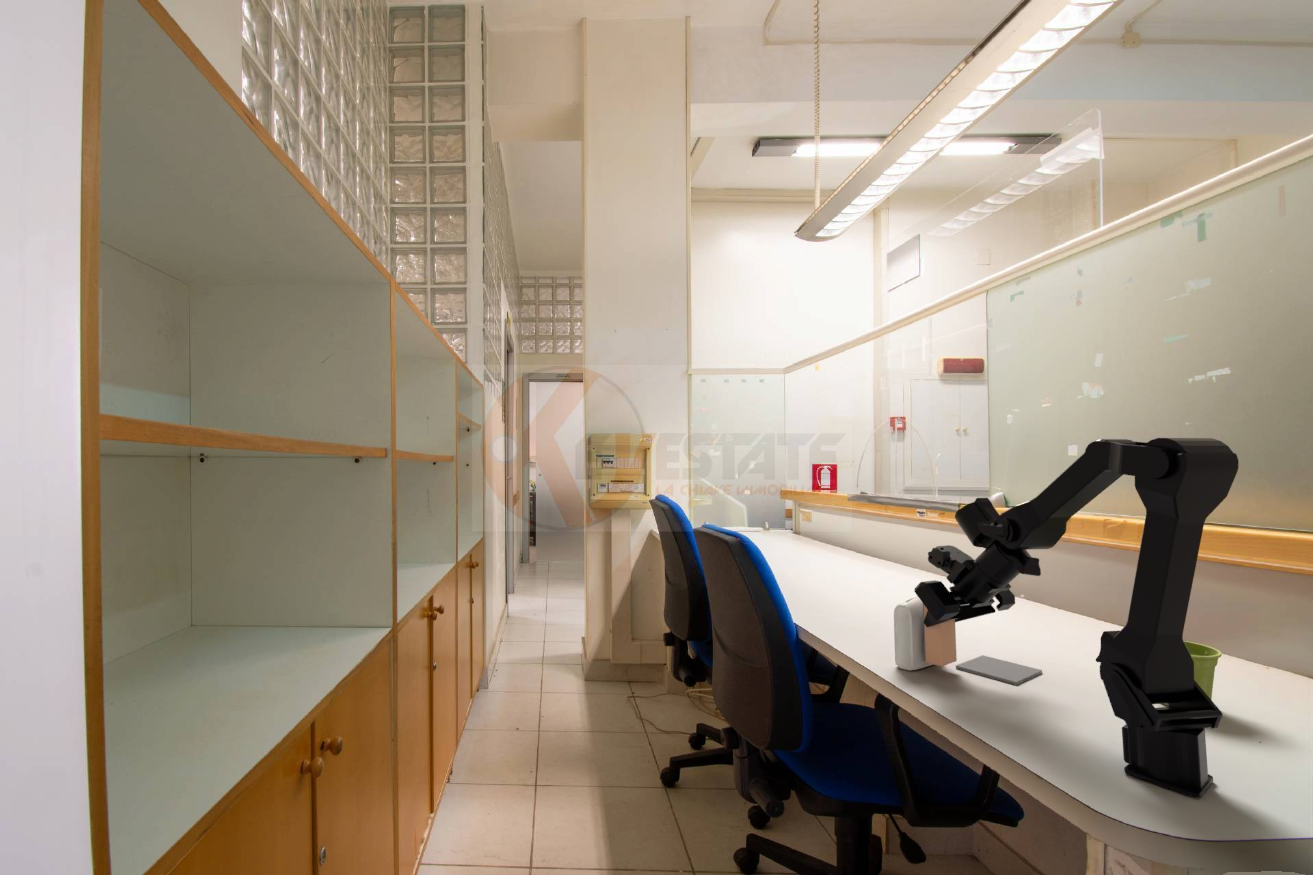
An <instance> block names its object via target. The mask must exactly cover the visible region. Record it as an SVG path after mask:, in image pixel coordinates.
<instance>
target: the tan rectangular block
mask: <svg viewBox="0 0 1313 875" xmlns="http://www.w3.org/2000/svg"><path fill="white" fill-rule="evenodd" d="M927 611H928V609H927V608H926V607H925V605H924V604H923V623H924V619H925V616H926V614H927ZM956 638H957V635H956V622H955V620H951V621H948V622H945V623H941V624H938V625H935V626H931V627H926V625H925V624H924V652H925V662H927V663H931V664H933V665H935V666H939V667H944V666H947V665H950V664H952V663H955V662H957V660H958V659H957V640H956Z"/></svg>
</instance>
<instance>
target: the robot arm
mask: <svg viewBox="0 0 1313 875" xmlns="http://www.w3.org/2000/svg"><path fill="white" fill-rule="evenodd" d="M1238 471H1239V458H1238V454H1236V453H1235V452H1234V451H1233V450H1232V449H1231V448H1230V447H1229V445H1227V443H1224V442H1223V441H1221V440H1219V439H1216V438H1212V437H1210V438H1209V437H1208V438H1207V437H1203V438H1202V437H1192V438H1191V437H1189V438H1188V437H1156V438H1153V439H1150V440H1149V441H1147V442H1146V441H1145V442H1143V441H1133V440H1131V439H1126V438H1101V439H1099V438H1098V439H1096V440H1095V441H1092V442H1090V443H1088V445H1086V447H1085V450H1084V453H1083V454H1082V455H1080V456H1079V457H1078V458H1077V459H1076V460H1075V461H1073V463H1072V464H1070V465H1069V466H1068V467H1067V468H1066V469H1064V471H1063V472H1061V473H1060V474H1059V475H1058V476H1057V477H1056V478H1055V479H1054V480H1053V481H1051V483H1050V484H1049V485H1048V486H1046V488H1044V489H1043V490H1042V491H1041V492H1040V493H1039V494H1038V495H1036V497H1033V498H1032V499H1030V500H1027V501H1024V502H1022V503H1019V504H1016V505H1014V506H1012V507H1010V508H1008V509H1007V510H1005V511H1003V512H1002V513H1001V514H1000V513H999V512H998V511H997V509H996V508H995V507H994V505H993V503H992V502H991V500H990V499H989V498H988V497H976V498H975V500H974V501H973V502H970V503H967V504H966V505H964V506H962V507H961V508H959V509H958V510H957V511H956V512H955V515H954V519H955V521H956V523H957V524H958V526H960V528H961V530H962V532H963V533H964V534H965V535H966V537H967V539H968V540H969V542H970V543H971V545H972V546H974V547H976V548H983V549H984V550H983V551H982V552H981V553H980V554H979V555H978V556H977V557H976V558H975V559H974V558H973V557H971V556H970V555H968V554H967V553H966V552H964V551H962V550H961V549H959V548H957V547H956V546H954V545H937V546H935V547H932V550H931V551H929V552H927V556H928V557H927V561H928V562H929V564H931V565H932V566H934V567H936V568H937V569H939V570H941V571H943V572H944V573H945V574H947V576H946V580H947V581H948V582H949V583H950V584H952V585H953V586H949V588H947V587H946V585H945V584H944V583H943V582H942V581H940V580H936V579H935V580H925V581H920V582H919V583H918V584H917V586H915V587H914V589H913V590H914V593H915V594H916V596H918V597H919V599H920V600H921V601H922V603H923V604H924V605H925V607H926V608H927V609H928V611H927V614H926V616H925V619H924V624H925V625H926V627H931V626H935V625H938V624H941V623H945V622H948V621H951V620H955V623H958V622H962V621H966V620H970V619H974V618H978V617H982V616H985V615H990V614H994V613H996V609H997V611H999V612H1002V611H1007V610H1010V609H1011V608H1012V607H1013V606H1014V605H1016V595H1014V592H1012V591H1011V590H1010V589H1011V588H1012V585H1011V584H1010V583H1011V582H1012V581H1013V580H1014V579H1015V578H1016V577H1018V576H1019V575H1020V574H1021V575H1027V576H1034V577H1040V576H1041V575H1042V572H1041V566H1040V558H1038V557H1033V556H1031V554H1030V553H1029V551H1028V550H1049V549H1052V548H1053V547H1055V546H1056V545H1057V543H1058V542H1059V541H1060V540H1061V538H1062V537H1063V536H1064V535H1065V533H1066V532H1067V524H1068V521H1069V520H1070V519H1071V518H1072V517H1073V516H1074V515H1076V514H1077V513H1078V512H1079V511H1080V510H1082V509H1083V508H1084V507H1085V506H1086V505H1087V506H1088V504H1089V503H1091V501H1093V500H1094V499H1096V498H1097V496H1098V495H1100V494H1102V492H1103V493H1104V491H1105V490H1106V489H1107V488H1109V487H1110V486H1112V484H1114V483H1115V482H1116V481H1117V480H1118V479H1120V478H1121V477H1122V476H1123V475H1125V476H1131V477H1134V487H1135V490H1136V493H1137V495H1138V497H1139V499H1140V500H1141V502H1142V504H1143V506H1144V508H1145V519H1144V524H1143V531H1142V537H1141V542H1140V546H1139V552H1138V559H1137V565H1136V570H1135V574H1134V575H1135V576H1134V581H1133V587H1132V592H1131V593H1132V594H1131V598H1130V605H1129V610H1128V615H1127V621H1126V624H1125V625H1124V627H1123V628H1121V630H1107V631H1106V630H1105V631H1102V634H1101V635H1100V650H1099V653H1098V656H1097V657H1096V658H1095V662H1096V663H1100V664H1099V676H1100V677H1099V678H1100V679H1101V681H1102V682H1103V685H1104V686H1103V687H1104V689H1105V691H1106V694H1107V697H1108V700H1109V703H1110V706H1111V708H1112V711H1113V715H1114V716H1115V717H1116V718H1118V719H1121V720H1123V721H1124V722H1125V724H1124V725H1123V726H1122V727H1121V734H1122V736H1121V737H1122V752H1123V753H1122V754H1123V761H1124V762H1125V764H1127V765H1126V766H1124V767H1123V769H1124V770H1123V771H1124V773H1125V774H1127V775H1129V776H1133V777H1135V778H1137V779H1138V778H1139V779H1140V780H1144V781H1146V782H1149V783H1153V784H1154V785H1158V786H1161V787H1164V788H1166V789H1170V790H1172V791H1173V790H1174V791H1175V792H1178V793H1181V794H1184V795H1187V796H1190V797H1194V798H1198V799H1200V798H1201V797H1202V796H1203V795H1204V794H1205V792H1206V791H1207V790H1208V788H1209V787H1210V786H1211V785H1212V784H1213V783H1214V777H1213V775H1212V774H1209V771H1208V770H1209V769H1208V757H1207V742H1206V741H1207V740H1206V729H1217V728H1218V727H1219V725H1220V722H1221V719H1222V717H1223V712H1222V711H1221V709H1220V708H1219V707H1218V706H1217V705H1216V704H1215V703H1214V702H1213V700H1212V699H1210V698H1209V697H1208V696H1207V694H1206V693H1205V692H1204V691H1203V690H1202V688H1201V687H1200V686H1199V685H1198V684H1197V683H1196V681H1195V680H1194V661H1193V659H1192V657H1191V655H1190V653H1189V651H1188V649H1187V647H1186V645H1185V643H1184V641H1185V640H1184V639H1183V638H1184V636H1183V635H1184V630H1185V624H1186V618H1187V614H1188V609H1189V605H1190V604H1189V602H1190V598H1191V593H1192V592H1191V591H1192V588H1193V582H1194V577H1195V572H1196V568H1197V562H1198V557H1199V551H1200V547H1201V546H1200V545H1201V541H1202V536H1203V531H1204V527H1205V521H1206V520H1207V518H1208V517H1209V516H1210V515H1211V514H1212V513H1213V512H1214V511H1215V510H1216V509H1217V508H1218V507H1219V506H1220V505H1221V503H1222V502H1223V501H1224V500H1225V499H1226V498H1227V497H1228V495H1229V492H1230V490H1231V488H1232V485H1233V483H1234V480H1235V478H1236V477H1237V474H1238ZM948 589H949V590H948ZM994 598H995V599H996V600H997V601H998V604H996V607H995V608H994V606H993V604H994V603H995V602H996V601H995V599H994ZM1164 703H1168V704H1169V706H1162V707H1161V706H1159V707H1155V706H1154V705H1164Z"/></svg>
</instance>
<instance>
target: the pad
mask: <svg viewBox="0 0 1313 875" xmlns="http://www.w3.org/2000/svg"><path fill="white" fill-rule="evenodd" d="M955 669H957V670H961V671H964V672H967V673H972V674H974V675H978V676H981V677H986V678H989V679H993V680H996V681H1000V682H1004V683H1008V684H1011V685H1014V686H1017V685H1020V684H1023V683H1024V682H1026V681H1028V680H1031V679H1033V678H1035V677H1037V676H1039V675H1041V674H1042V673H1043V670H1042V669H1039V668H1035V667H1030V666H1027V665H1023V664H1018V663H1017V662H1015V663H1014V662H1012V661H1007V660H1003V659H1000V658H999V659H998V658H995V657H991V656H987V655H980V656H977V657H974V658H972V659H969V660H967V661H964V662H962V663H959V664H957V665H955Z"/></svg>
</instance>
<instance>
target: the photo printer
mask: <svg viewBox="0 0 1313 875" xmlns="http://www.w3.org/2000/svg"><path fill="white" fill-rule="evenodd" d="M893 632H894V633H893V634H894V661H895V662H894V663H895V665H896V666H897V667H898V668H900V669H902V670H905V671H916V670H920V669H923V668H926V667H929V666H933V665H934V664H931V663H927V662H925V652H924V623H923V603H922V601H921V600H920V599H919V597H918V596H917V595H914V596H913V595H912V596H910V597H908V598H905V599H903V600H902V601H900V602H899V603H898V604H897V605H896V606H895V608H894V610H893Z"/></svg>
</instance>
